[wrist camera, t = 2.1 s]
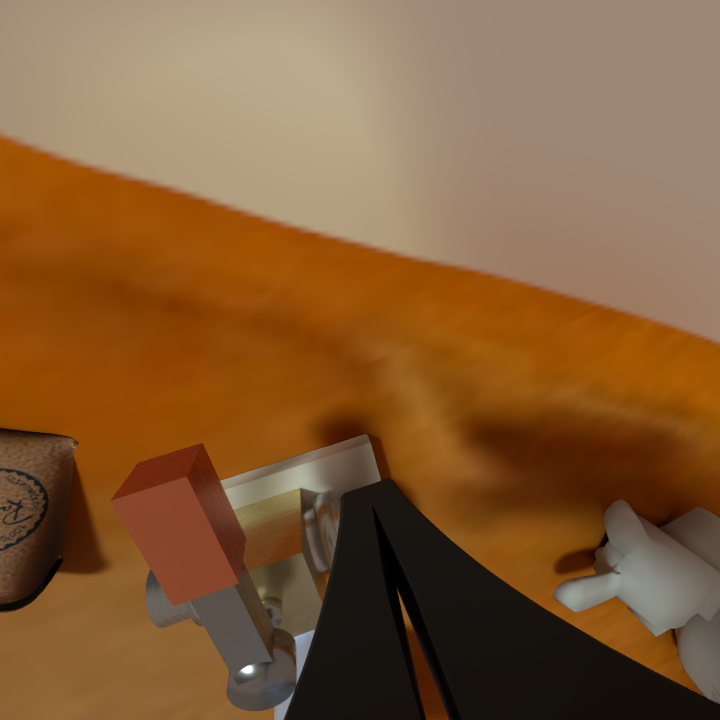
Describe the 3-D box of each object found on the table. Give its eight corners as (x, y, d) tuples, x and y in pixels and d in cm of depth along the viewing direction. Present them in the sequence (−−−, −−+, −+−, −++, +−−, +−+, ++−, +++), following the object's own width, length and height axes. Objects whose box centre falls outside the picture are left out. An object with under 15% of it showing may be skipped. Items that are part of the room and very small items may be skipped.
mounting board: (366, 433, 20) (370, 442, 19) (393, 528, 22) (397, 540, 21) (132, 509, 19) (124, 522, 18) (185, 601, 21) (180, 617, 20)
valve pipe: (357, 462, 20) (379, 536, 15) (375, 523, 21) (402, 610, 16) (158, 528, 19) (107, 632, 14) (191, 587, 20) (156, 702, 15)
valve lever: (303, 651, 14) (305, 704, 13) (245, 673, 14) (239, 730, 13) (209, 440, 11) (193, 474, 10) (131, 464, 11) (102, 503, 9)
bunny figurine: (712, 655, 26) (581, 659, 20) (642, 591, 30) (519, 580, 25) (795, 551, 24) (675, 524, 18) (706, 500, 29) (589, 465, 23)
